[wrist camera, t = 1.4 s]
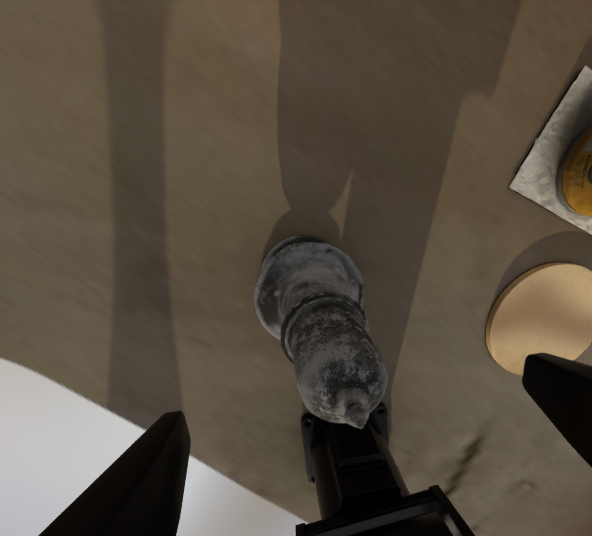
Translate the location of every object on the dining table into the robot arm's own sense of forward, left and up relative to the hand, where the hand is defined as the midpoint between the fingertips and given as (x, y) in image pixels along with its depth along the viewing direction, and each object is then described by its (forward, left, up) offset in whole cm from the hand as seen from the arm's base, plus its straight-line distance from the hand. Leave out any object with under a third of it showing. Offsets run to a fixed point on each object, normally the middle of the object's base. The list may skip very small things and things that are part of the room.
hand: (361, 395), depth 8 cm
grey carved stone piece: (-1, 0, -12) cm, 12 cm away
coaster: (-7, -17, -12) cm, 22 cm away
